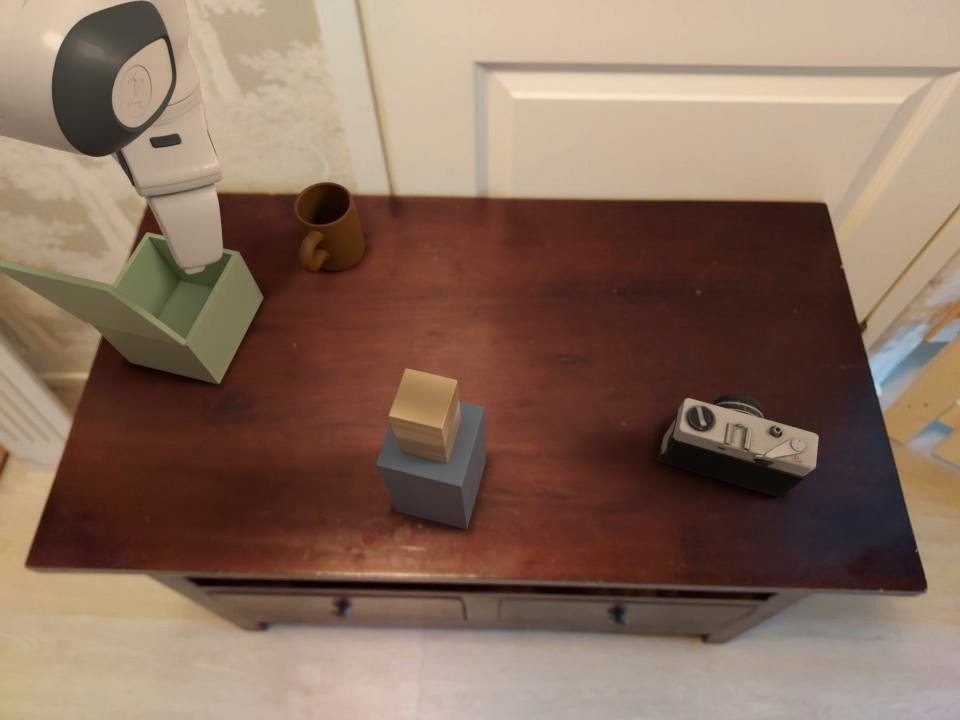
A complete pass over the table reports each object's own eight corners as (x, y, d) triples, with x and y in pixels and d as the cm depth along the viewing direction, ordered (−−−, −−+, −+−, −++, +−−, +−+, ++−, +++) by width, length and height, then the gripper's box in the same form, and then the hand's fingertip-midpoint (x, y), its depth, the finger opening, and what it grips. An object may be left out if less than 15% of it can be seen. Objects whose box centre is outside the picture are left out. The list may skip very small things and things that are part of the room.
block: (447, 463, 58) (441, 429, 51) (400, 451, 59) (387, 415, 52) (461, 418, 61) (457, 379, 54) (415, 407, 61) (405, 367, 54)
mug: (345, 305, 85) (330, 260, 77) (290, 294, 86) (269, 249, 78) (373, 234, 90) (361, 185, 82) (321, 225, 91) (305, 176, 83)
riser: (467, 530, 71) (461, 486, 57) (396, 511, 72) (375, 464, 59) (485, 461, 74) (484, 406, 61) (418, 445, 75) (403, 387, 62)
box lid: (-9, 257, 59) (-13, 263, 59) (110, 284, 58) (107, 291, 57) (87, 316, 73) (84, 322, 72) (187, 340, 71) (184, 346, 71)
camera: (795, 441, 75) (834, 407, 66) (775, 513, 71) (813, 487, 62) (678, 394, 78) (700, 356, 69) (652, 461, 74) (672, 429, 65)
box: (179, 278, 87) (146, 231, 79) (263, 297, 86) (239, 251, 77) (130, 362, 81) (88, 321, 73) (219, 384, 80) (187, 345, 71)
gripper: (74, 48, 57) (115, 177, 68) (141, 195, 48) (176, 317, 59) (151, 40, 60) (178, 165, 70) (227, 178, 51) (246, 297, 61)
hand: (178, 235), depth 65 cm, fingers open, 8 cm apart
